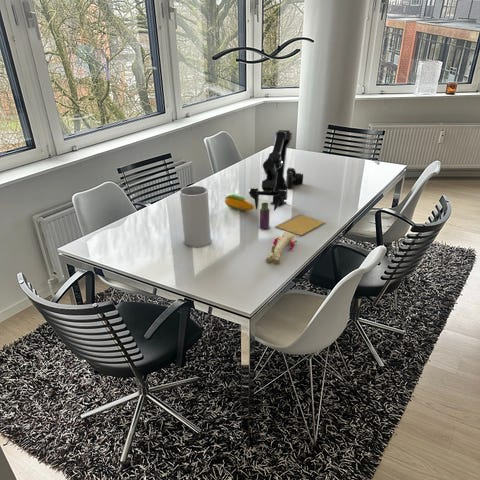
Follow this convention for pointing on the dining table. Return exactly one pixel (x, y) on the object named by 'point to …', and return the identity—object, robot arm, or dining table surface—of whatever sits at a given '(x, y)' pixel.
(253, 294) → the dining table surface
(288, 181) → the film camera
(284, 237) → the beige elongated piece
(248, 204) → the corn
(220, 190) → the dining table surface
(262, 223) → the pepper mill
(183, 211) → the cylinder vase
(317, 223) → the mustard yellow board
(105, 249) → the dining table surface
